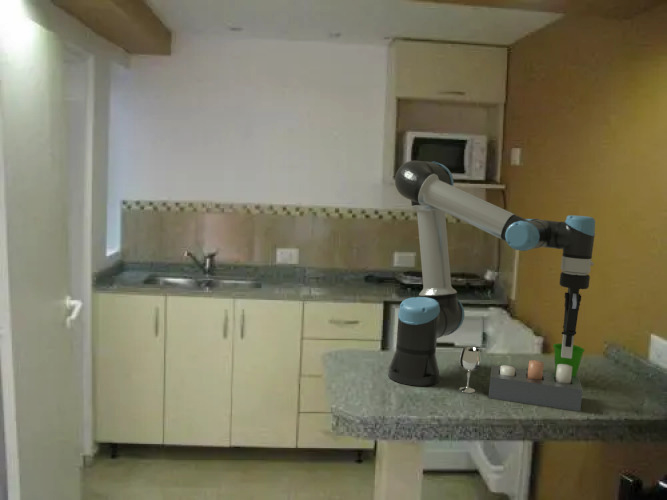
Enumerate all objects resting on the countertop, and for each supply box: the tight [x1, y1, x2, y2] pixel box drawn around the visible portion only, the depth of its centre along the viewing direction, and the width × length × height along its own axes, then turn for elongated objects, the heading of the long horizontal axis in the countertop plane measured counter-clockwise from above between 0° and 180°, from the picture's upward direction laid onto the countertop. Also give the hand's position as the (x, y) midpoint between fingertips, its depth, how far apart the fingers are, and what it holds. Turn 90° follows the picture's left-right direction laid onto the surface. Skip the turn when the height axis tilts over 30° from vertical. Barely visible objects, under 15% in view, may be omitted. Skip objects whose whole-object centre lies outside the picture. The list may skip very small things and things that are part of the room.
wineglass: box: [459, 346, 481, 394], centre depth 184 cm, size 6×6×12 cm
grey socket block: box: [488, 364, 584, 412], centre depth 182 cm, size 24×12×6 cm, turn 75°
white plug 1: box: [500, 365, 516, 376], centre depth 184 cm, size 4×4×7 cm
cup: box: [552, 343, 585, 377], centre depth 197 cm, size 9×9×11 cm
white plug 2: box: [555, 364, 572, 384], centre depth 180 cm, size 4×4×7 cm
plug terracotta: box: [527, 359, 545, 380], centre depth 182 cm, size 4×4×7 cm
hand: (566, 357), depth 179 cm, fingers closed
